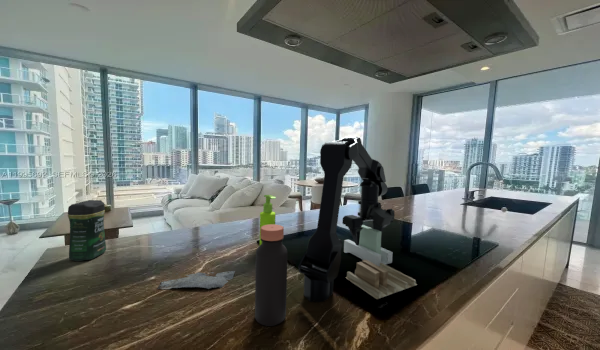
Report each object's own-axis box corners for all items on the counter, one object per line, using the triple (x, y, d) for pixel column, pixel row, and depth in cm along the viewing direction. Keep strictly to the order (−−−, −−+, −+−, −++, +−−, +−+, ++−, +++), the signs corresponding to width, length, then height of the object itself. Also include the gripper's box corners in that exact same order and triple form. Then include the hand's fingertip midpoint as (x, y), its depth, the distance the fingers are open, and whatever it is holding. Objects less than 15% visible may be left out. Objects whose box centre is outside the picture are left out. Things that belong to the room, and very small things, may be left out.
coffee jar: (91, 262, 78) (88, 204, 77) (63, 262, 78) (60, 203, 76) (111, 250, 88) (109, 198, 86) (87, 250, 87) (84, 198, 86)
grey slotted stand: (376, 269, 78) (376, 256, 78) (343, 251, 92) (344, 240, 92) (391, 265, 82) (392, 252, 82) (358, 248, 96) (358, 237, 95)
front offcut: (374, 292, 64) (375, 273, 63) (355, 279, 70) (356, 262, 69) (378, 290, 64) (379, 272, 64) (359, 278, 70) (360, 261, 70)
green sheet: (375, 261, 82) (377, 232, 81) (355, 251, 91) (356, 224, 90) (379, 260, 83) (381, 231, 82) (359, 250, 92) (360, 223, 91)
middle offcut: (382, 290, 64) (383, 272, 64) (361, 277, 71) (362, 260, 71) (386, 289, 65) (387, 271, 65) (365, 276, 72) (365, 259, 72)
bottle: (286, 307, 58) (288, 223, 56) (285, 327, 51) (287, 232, 50) (257, 306, 58) (258, 222, 56) (252, 327, 51) (253, 232, 49)
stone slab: (235, 269, 74) (227, 284, 64) (235, 275, 74) (227, 291, 64) (174, 270, 74) (155, 286, 64) (174, 276, 74) (156, 293, 64)
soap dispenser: (266, 251, 91) (267, 197, 90) (256, 245, 96) (257, 194, 95) (279, 247, 95) (280, 195, 93) (269, 242, 100) (270, 193, 99)
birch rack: (376, 303, 61) (377, 293, 60) (344, 280, 71) (345, 272, 71) (417, 287, 68) (417, 279, 68) (383, 269, 79) (383, 262, 78)
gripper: (366, 205, 74) (363, 256, 75) (407, 201, 83) (404, 246, 84) (342, 199, 84) (340, 244, 85) (381, 196, 93) (379, 236, 94)
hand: (367, 243), depth 87 cm, fingers open, 9 cm apart
